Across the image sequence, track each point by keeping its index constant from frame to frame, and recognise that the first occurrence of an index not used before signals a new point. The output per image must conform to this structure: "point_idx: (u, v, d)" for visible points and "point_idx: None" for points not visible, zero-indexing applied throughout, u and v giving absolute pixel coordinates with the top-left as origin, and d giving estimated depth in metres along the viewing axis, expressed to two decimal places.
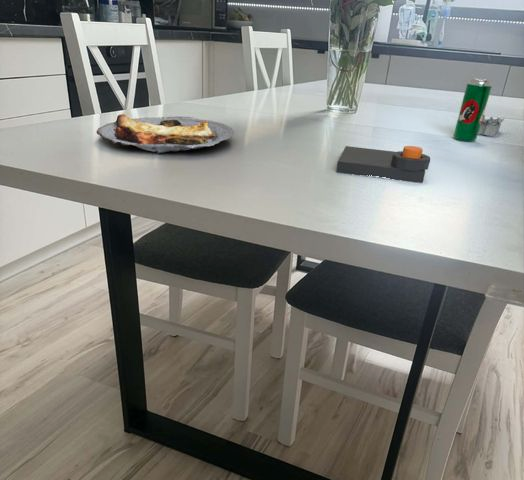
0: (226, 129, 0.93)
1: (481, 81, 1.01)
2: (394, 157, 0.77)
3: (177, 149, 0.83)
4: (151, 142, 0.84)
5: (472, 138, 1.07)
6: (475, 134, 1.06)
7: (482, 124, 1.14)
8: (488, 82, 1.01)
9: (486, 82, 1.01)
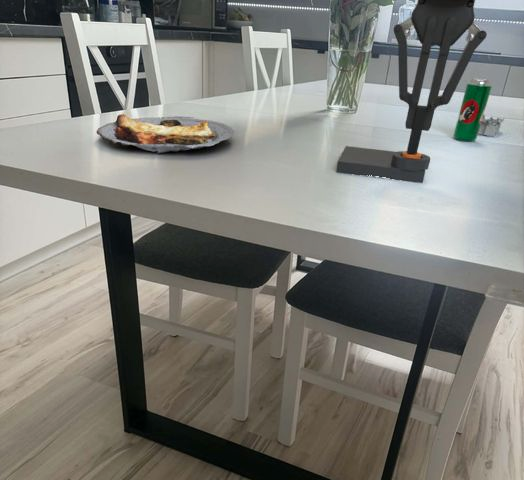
0: (226, 129, 0.93)
1: (481, 81, 1.01)
2: (394, 157, 0.77)
3: (177, 149, 0.83)
4: (151, 142, 0.84)
5: (472, 138, 1.07)
6: (475, 134, 1.06)
7: (482, 124, 1.14)
8: (488, 82, 1.01)
9: (486, 82, 1.01)
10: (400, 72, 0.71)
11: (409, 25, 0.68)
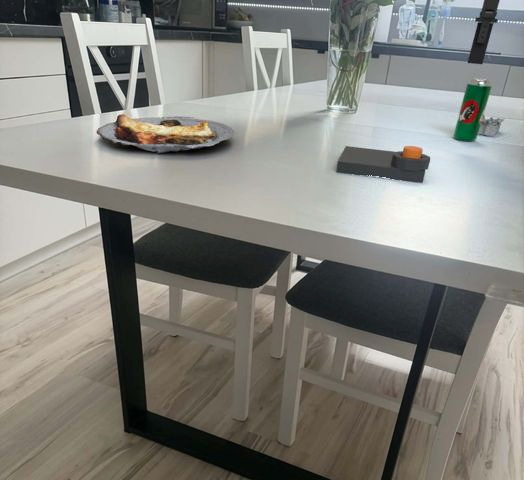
0: (226, 129, 0.93)
1: (481, 81, 1.01)
2: (394, 157, 0.77)
3: (177, 149, 0.83)
4: (151, 142, 0.84)
5: (472, 138, 1.07)
6: (475, 134, 1.06)
7: (482, 124, 1.14)
8: (488, 82, 1.01)
9: (486, 82, 1.01)
10: None
11: None
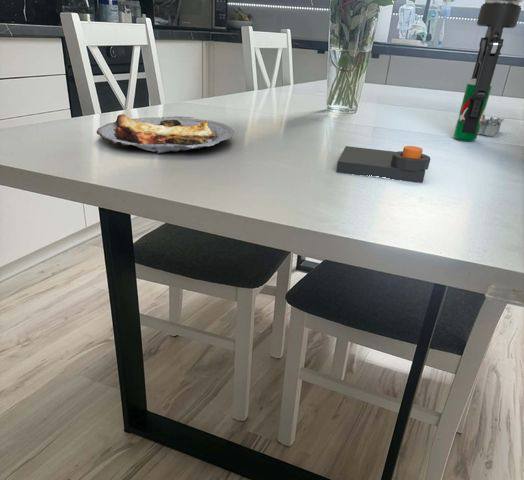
0: (226, 129, 0.93)
1: None
2: (394, 157, 0.77)
3: (177, 149, 0.83)
4: (151, 142, 0.84)
5: (472, 138, 1.07)
6: (475, 134, 1.06)
7: (482, 124, 1.14)
8: None
9: None
10: None
11: None
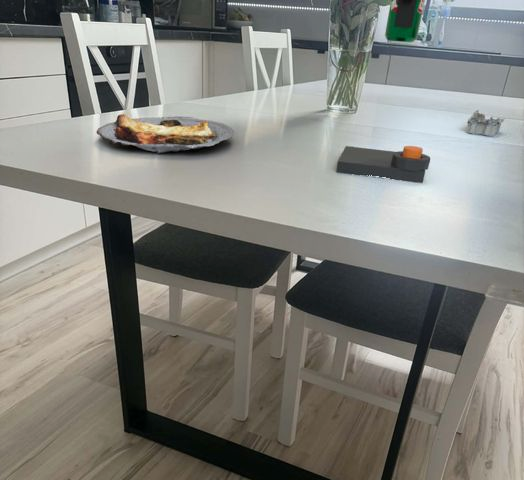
0: (226, 129, 0.93)
1: None
2: (394, 157, 0.77)
3: (177, 149, 0.83)
4: (151, 142, 0.84)
5: (409, 36, 0.75)
6: (413, 30, 0.74)
7: (482, 124, 1.14)
8: None
9: None
10: None
11: None
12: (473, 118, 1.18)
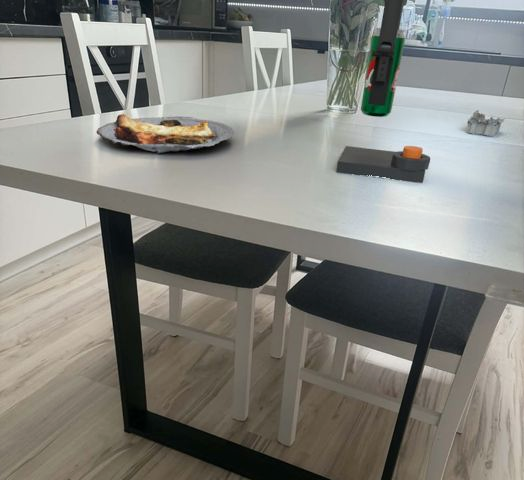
0: (226, 129, 0.93)
1: None
2: (394, 157, 0.77)
3: (177, 149, 0.83)
4: (151, 142, 0.84)
5: (383, 112, 0.78)
6: (386, 107, 0.78)
7: (482, 124, 1.14)
8: (398, 32, 0.72)
9: None
10: (398, 22, 0.68)
11: None
12: (473, 118, 1.18)
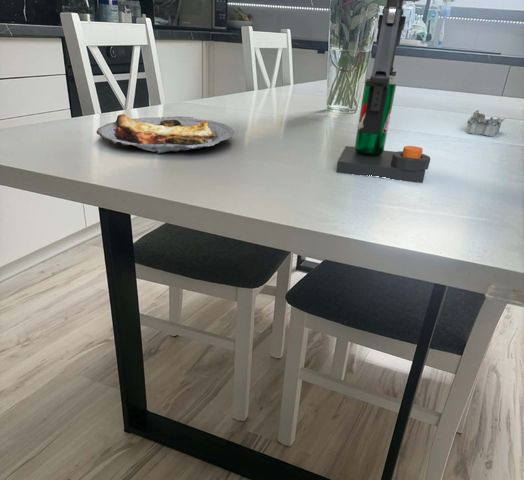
0: (226, 129, 0.93)
1: None
2: (394, 157, 0.77)
3: (177, 149, 0.83)
4: (151, 142, 0.84)
5: (376, 152, 0.82)
6: (379, 147, 0.82)
7: (482, 124, 1.14)
8: (390, 79, 0.76)
9: None
10: (392, 54, 0.68)
11: None
12: (473, 118, 1.18)
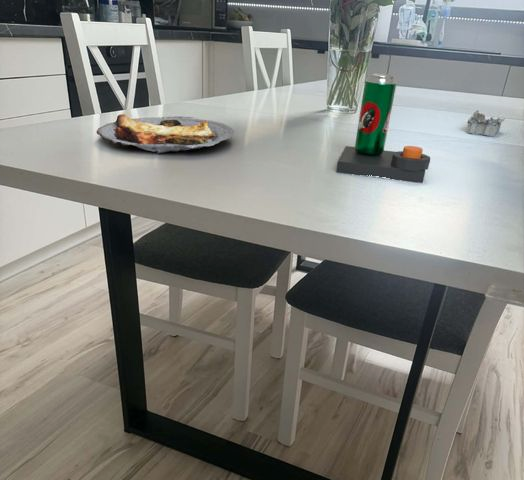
0: (226, 129, 0.93)
1: (380, 77, 0.76)
2: (394, 157, 0.77)
3: (177, 149, 0.83)
4: (151, 142, 0.84)
5: (376, 152, 0.82)
6: (379, 147, 0.82)
7: (482, 124, 1.14)
8: (390, 79, 0.76)
9: (387, 79, 0.76)
10: None
11: None
12: (473, 118, 1.18)
